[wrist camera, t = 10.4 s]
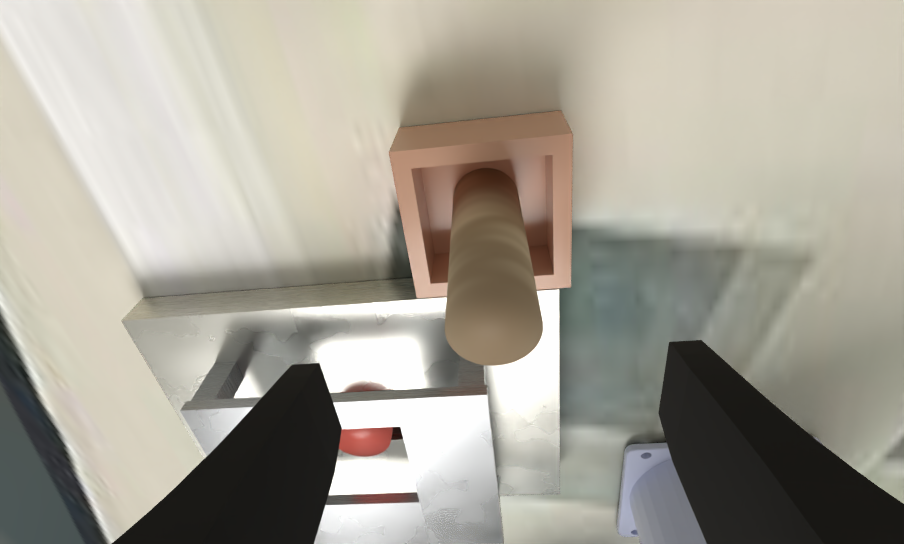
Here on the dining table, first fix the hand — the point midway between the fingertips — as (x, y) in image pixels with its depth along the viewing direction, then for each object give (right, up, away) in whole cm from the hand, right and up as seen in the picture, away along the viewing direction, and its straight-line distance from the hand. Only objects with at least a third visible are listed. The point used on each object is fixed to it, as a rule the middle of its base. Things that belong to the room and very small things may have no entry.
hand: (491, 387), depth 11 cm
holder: (0, +5, +8) cm, 10 cm away
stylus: (0, +5, +8) cm, 10 cm away
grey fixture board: (-5, -3, +14) cm, 16 cm away
